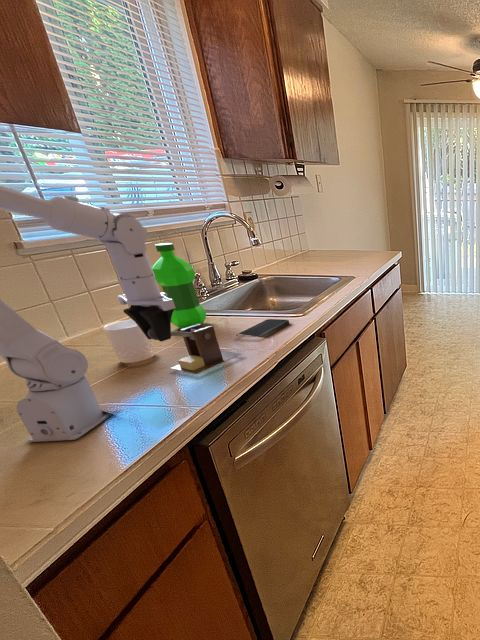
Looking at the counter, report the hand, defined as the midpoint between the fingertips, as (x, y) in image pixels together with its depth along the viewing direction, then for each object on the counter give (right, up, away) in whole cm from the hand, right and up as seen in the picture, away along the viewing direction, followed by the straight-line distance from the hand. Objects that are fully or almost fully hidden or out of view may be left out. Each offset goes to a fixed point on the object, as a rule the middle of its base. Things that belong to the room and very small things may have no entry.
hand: (159, 338), depth 86 cm
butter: (+2, -6, +8) cm, 10 cm away
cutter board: (+3, -6, +11) cm, 13 cm away
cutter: (+1, 0, +4) cm, 4 cm away
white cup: (-16, -5, +14) cm, 22 cm away
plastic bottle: (-21, +6, +38) cm, 44 cm away
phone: (+5, +4, +33) cm, 34 cm away
